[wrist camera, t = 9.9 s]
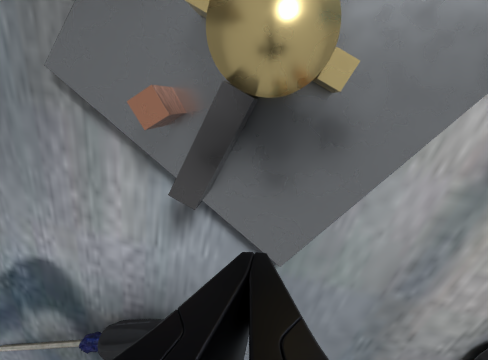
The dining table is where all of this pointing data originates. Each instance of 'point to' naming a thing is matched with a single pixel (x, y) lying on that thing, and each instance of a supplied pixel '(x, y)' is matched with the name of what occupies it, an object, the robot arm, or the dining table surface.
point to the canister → (483, 356)
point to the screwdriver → (99, 339)
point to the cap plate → (282, 103)
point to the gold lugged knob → (259, 72)
